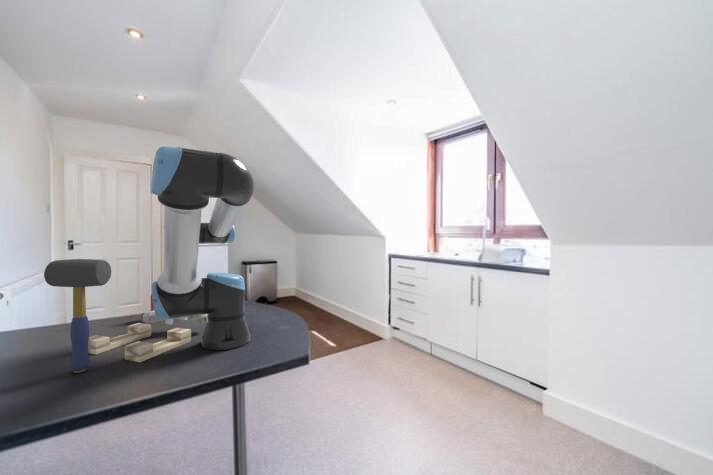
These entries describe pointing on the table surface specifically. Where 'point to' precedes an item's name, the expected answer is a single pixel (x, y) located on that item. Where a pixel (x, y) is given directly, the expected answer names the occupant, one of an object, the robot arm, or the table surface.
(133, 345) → the v block cradle
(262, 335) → the table surface
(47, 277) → the rubber mallet
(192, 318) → the light grey long bar
